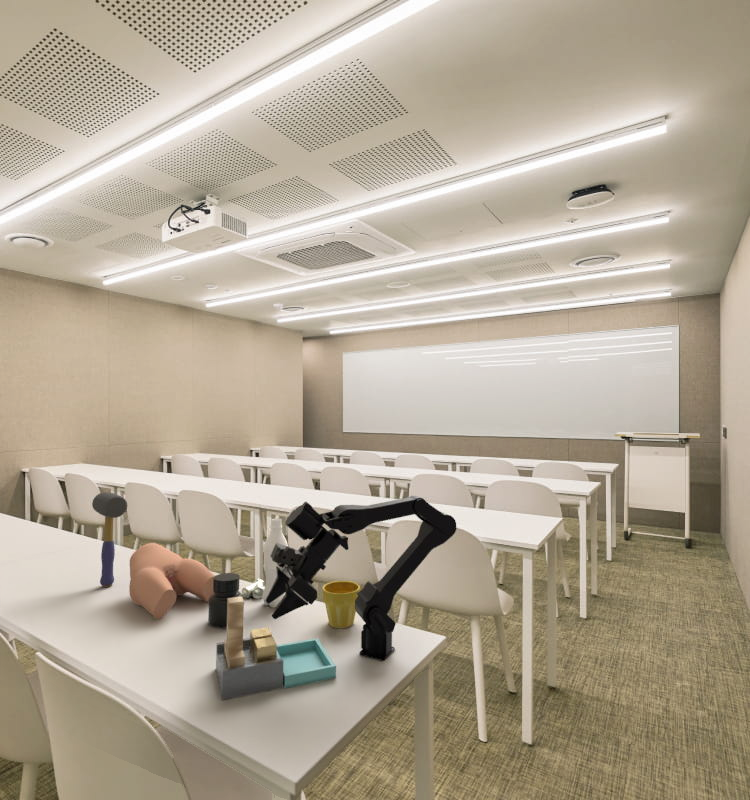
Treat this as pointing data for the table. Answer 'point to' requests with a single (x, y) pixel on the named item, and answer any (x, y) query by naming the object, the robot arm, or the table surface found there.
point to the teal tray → (305, 663)
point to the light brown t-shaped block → (234, 632)
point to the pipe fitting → (254, 589)
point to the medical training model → (165, 579)
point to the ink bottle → (222, 598)
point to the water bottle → (269, 564)
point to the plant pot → (340, 602)
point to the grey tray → (247, 674)
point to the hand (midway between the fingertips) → (270, 609)
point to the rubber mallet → (108, 530)
